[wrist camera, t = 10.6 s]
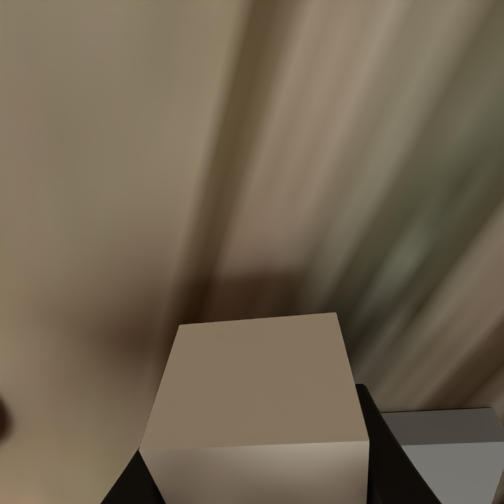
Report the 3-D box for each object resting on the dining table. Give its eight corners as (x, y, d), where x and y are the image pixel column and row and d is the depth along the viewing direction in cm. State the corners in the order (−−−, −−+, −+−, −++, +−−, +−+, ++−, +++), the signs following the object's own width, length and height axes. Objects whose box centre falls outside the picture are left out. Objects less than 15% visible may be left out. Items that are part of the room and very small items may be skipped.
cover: (335, 312, 9) (378, 475, 6) (339, 458, 13) (367, 618, 9) (179, 324, 10) (127, 483, 6) (223, 462, 13) (206, 617, 10)
